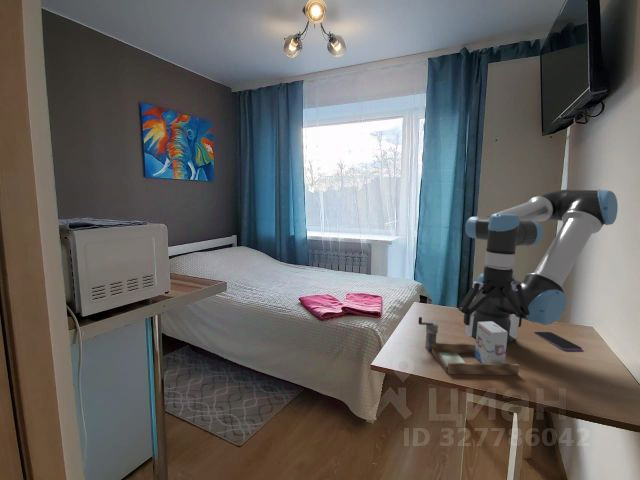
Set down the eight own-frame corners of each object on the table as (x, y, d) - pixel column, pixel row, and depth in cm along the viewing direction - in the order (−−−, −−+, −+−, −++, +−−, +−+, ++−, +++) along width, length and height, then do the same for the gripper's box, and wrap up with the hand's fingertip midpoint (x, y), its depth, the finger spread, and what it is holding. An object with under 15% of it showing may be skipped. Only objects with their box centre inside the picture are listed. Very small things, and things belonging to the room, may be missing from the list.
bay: (487, 347, 114) (490, 317, 112) (518, 375, 97) (522, 339, 95) (415, 346, 114) (417, 315, 112) (432, 373, 97) (435, 337, 95)
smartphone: (550, 331, 129) (584, 348, 114) (550, 334, 129) (583, 351, 114) (532, 331, 128) (563, 348, 113) (532, 334, 128) (563, 351, 113)
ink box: (473, 356, 108) (476, 320, 106) (488, 356, 108) (492, 320, 106) (488, 370, 99) (492, 331, 97) (505, 370, 100) (509, 331, 98)
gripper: (532, 265, 103) (524, 332, 106) (451, 262, 103) (444, 329, 106) (549, 271, 96) (539, 342, 99) (461, 267, 95) (454, 339, 98)
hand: (490, 336), depth 102 cm, fingers open, 13 cm apart
